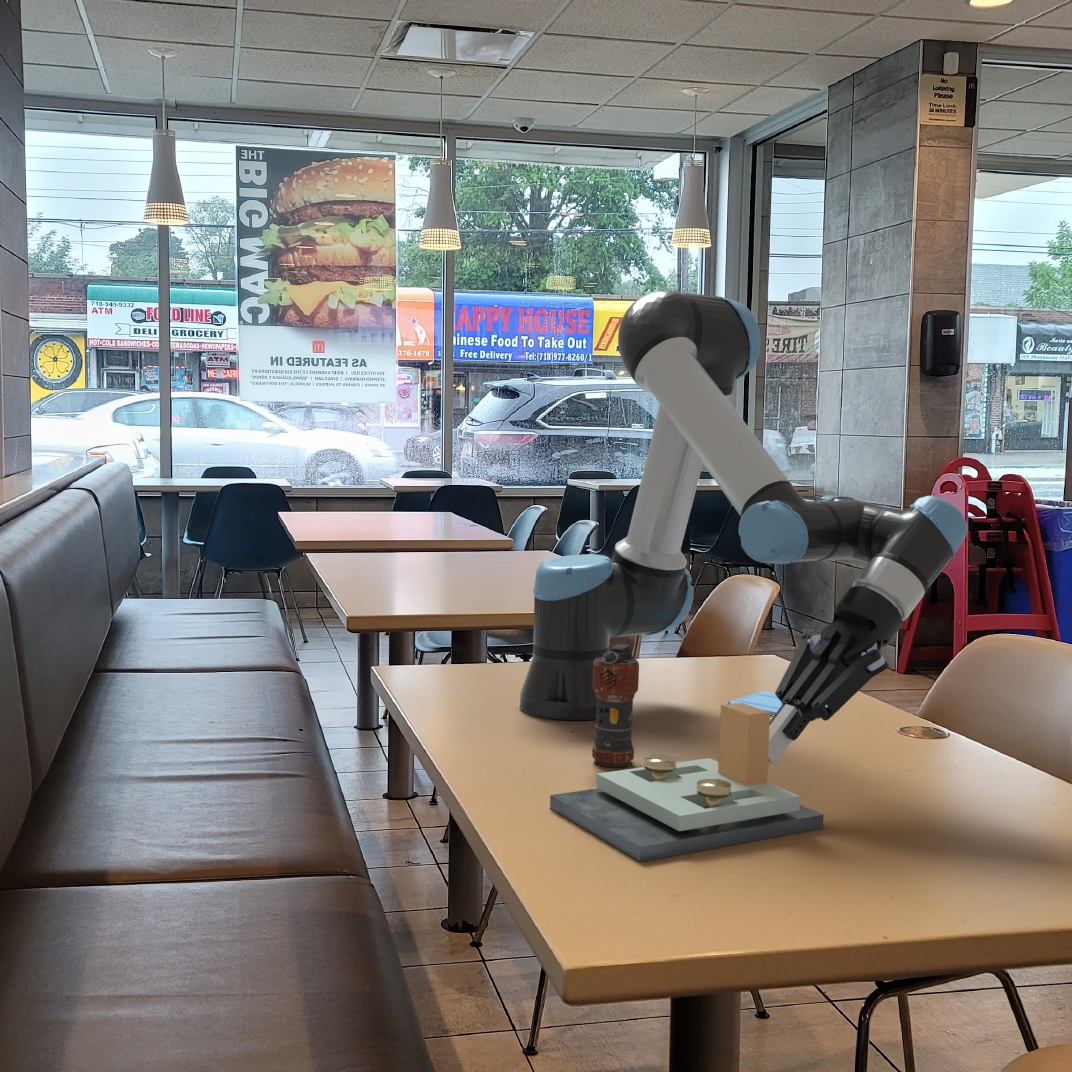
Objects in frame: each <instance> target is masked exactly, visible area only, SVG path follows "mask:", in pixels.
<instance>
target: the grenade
mask: <svg viewBox="0 0 1072 1072" xmlns="http://www.w3.org/2000/svg"><path fill="white" fill-rule="evenodd" d="M607 654H608V655H607ZM605 655H607V656H605ZM639 675H640V662H639V661H638V659H636V658H635V657H634V655H633V653H632V649H631V645H630V644H621V643H618V644H616V645H613V646H611V651H609V652H608V653H606V654H604V655H603V656H601V657H597V658H596V659H595V660H594V662H593V690H594V691H595V696H596V697H597V713H596V719H595V720H596V721H595V722H596V723H595V724H594V725H595V738H594V742H593V743H594V744H593V745H592V748H591V750H592V751H591V752H592V753H591V755H592V756H591V757H592V758H593V759H594V762H595V763H596V764H597V765H599V766H604V767H609V768H622V767H626V766H627V767H628V766H629V765H631V761H632V760H634V758H635V748H634V745H633V742H632V737H633V736H632V735H633V734H632V733H633V728H634V726H633V710H634V709H633V707H634V706H633V705H634V698H635V694H636V693H637V692H638V690H639V683H640V682H639V681H640V679H639V678H640V677H639Z"/></svg>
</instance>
